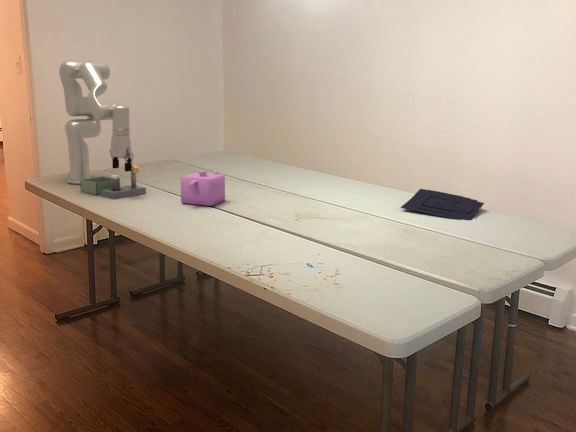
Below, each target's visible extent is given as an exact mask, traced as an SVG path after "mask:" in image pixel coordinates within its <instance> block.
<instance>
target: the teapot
mask: <svg viewBox="0 0 576 432" xmlns="http://www.w3.org/2000/svg"><path fill="white" fill-rule="evenodd" d="M207 172H208V171H207V170H199V171H198V172H194V173H190V174H186V175H183V176H180V203H181V204H190V205H199V206H206V207H207V206H209V207H212V206H214V205H217V204H220V203H223V202H225V201H226V183H225V182H226V180H225V179H226V176H225V175H224V174H218V172H219V170H215V171H212V173H207Z"/></svg>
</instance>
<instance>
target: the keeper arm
mask: <svg viewBox="0 0 576 432" xmlns="http://www.w3.org/2000/svg"><path fill="white" fill-rule="evenodd" d="M131 169H132V171H133V172H134V173H136V174H139V172H140V171H139V170H140V169H139V166H138V165H137V162H132V163H131Z"/></svg>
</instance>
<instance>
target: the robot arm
mask: <svg viewBox="0 0 576 432" xmlns="http://www.w3.org/2000/svg"><path fill="white" fill-rule="evenodd" d="M58 73H59V79H60V82H61V85H62V88H63V96H64V103H65V110H66V111H65V112H66V113H67V115H68V116H70V117H86V118H75V119H74V118H73V119H70V120H69V121H67V122H66V123H65V124H64V125H65V126H64V130H65V134H66V140H67V144H68V145H67V146H68V147H67V148H68V161H69V173H68V174H67V176H68V177H69V178H68V179H67V180H66V181H67V183H68V184H75V185H76V184H77V185H78V184H79V185H80V180H81V179H88V178H91V173H90V156H89V155H90V154H89V153H90V152H89V146H88V143H87V142H86V141H85V140H84V139H88V138H89V139H91V138H97V137H99V136H100V134H101V131H102V126H101V121H112V135H111V141H110V149H109V153H110V157H111V161H112V163H111V164H112V169H118V168H120V159H124V171H125V173H126V172H131V163H133V160H134V156H135V154H134V153H133V152H132V143H131V142H132V141H131V137H130V135H131V134H130V133H131V132H130V108H129V106H128V105H124V104H120V103H117V102H115V103H113V102H112V103H100V102H99V101H98V99H97V98H98V97H99V96H102V95H103V94H105V92H106V91H107V89H108V85H107V83H106V80H108V79H109V77H110V75H111V70H110V66H109V65H108V64H107V63H106V62H104V61H93V60H91V61H90V60H66V61H64V62H62V63H61V64H60V65H59V71H58ZM76 79H78V80H79V79H81V80H83V82H84V84H85V86H86V87H87V89H88V91H89V93H88V94H87V96H84V95H83V90H82V86H81V84H80V83H79V81H77V80H76Z"/></svg>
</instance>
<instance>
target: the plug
mask: <svg viewBox="0 0 576 432" xmlns="http://www.w3.org/2000/svg"><path fill="white" fill-rule="evenodd" d="M111 178H112V191H120V187H121V179H120V178H121V177H120V174H115V173H114V174H111Z"/></svg>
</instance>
